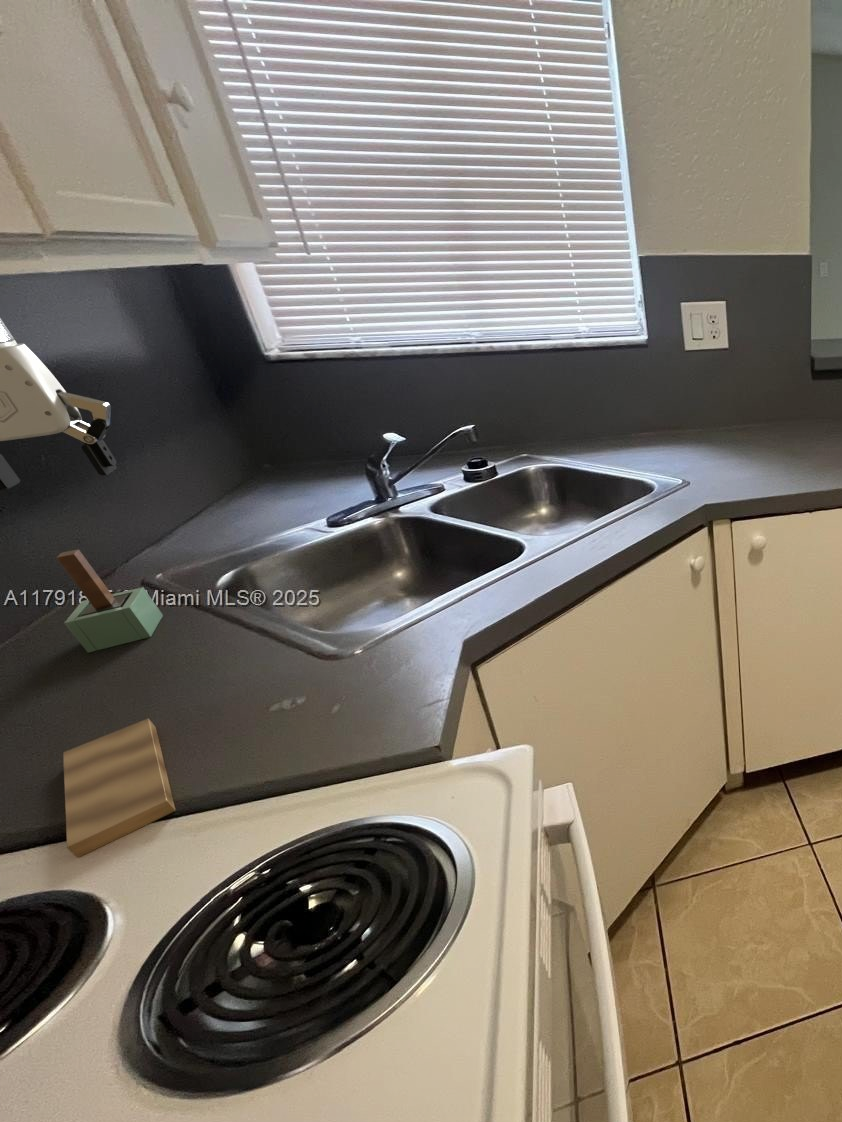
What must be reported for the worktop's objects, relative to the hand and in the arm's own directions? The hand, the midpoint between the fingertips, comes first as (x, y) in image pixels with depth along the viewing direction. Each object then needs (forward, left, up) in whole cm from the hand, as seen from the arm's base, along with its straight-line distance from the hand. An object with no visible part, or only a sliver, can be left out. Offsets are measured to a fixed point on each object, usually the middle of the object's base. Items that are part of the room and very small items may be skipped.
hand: (61, 479), depth 80 cm
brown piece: (-4, 0, -22) cm, 23 cm away
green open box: (-4, 0, -22) cm, 23 cm away
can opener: (-9, +12, -22) cm, 27 cm away
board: (+5, -39, -22) cm, 46 cm away
